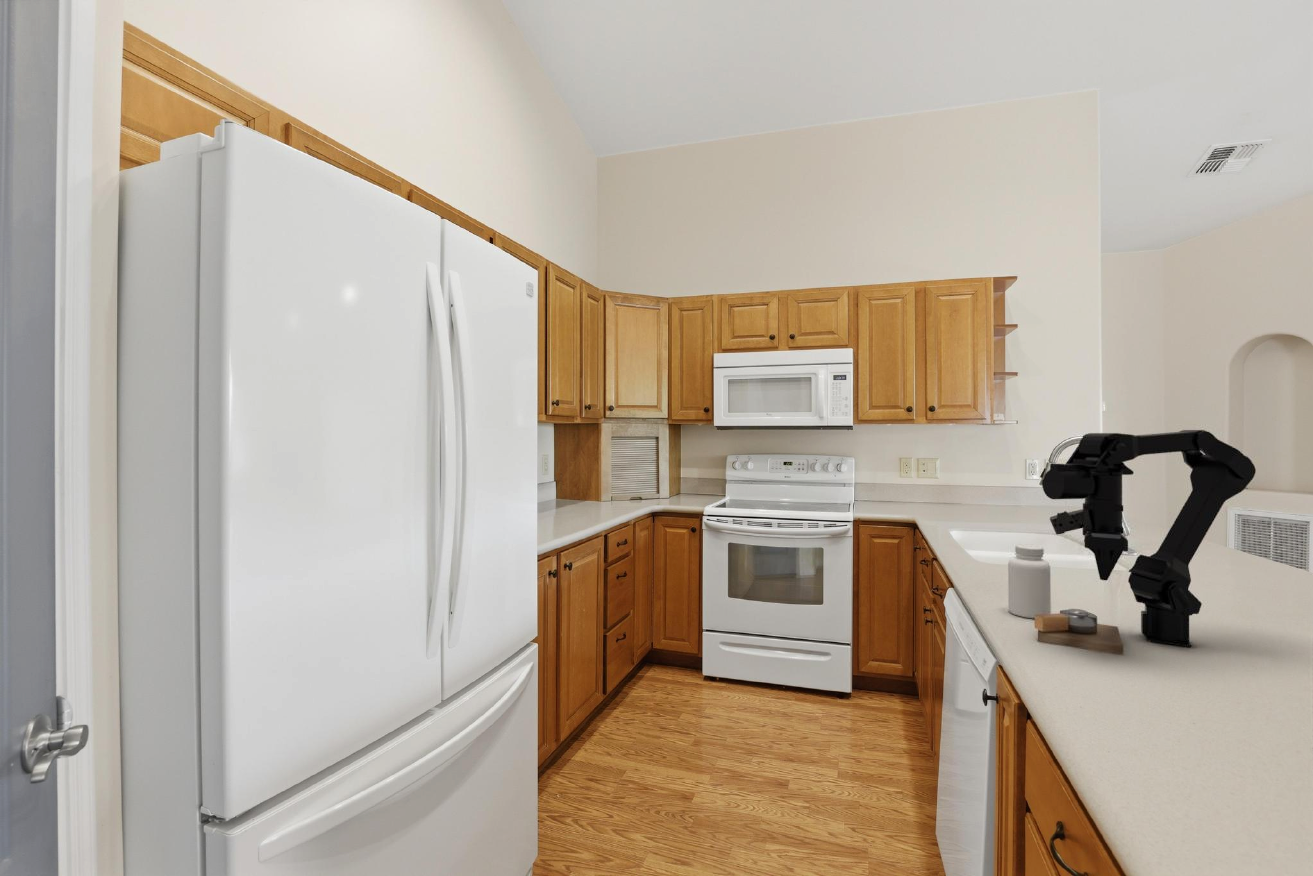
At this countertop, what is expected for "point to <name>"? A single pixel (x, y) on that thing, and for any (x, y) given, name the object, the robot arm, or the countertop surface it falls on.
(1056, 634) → the base plate
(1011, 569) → the pill bottle
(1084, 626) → the metal and wood piece
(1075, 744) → the countertop surface
